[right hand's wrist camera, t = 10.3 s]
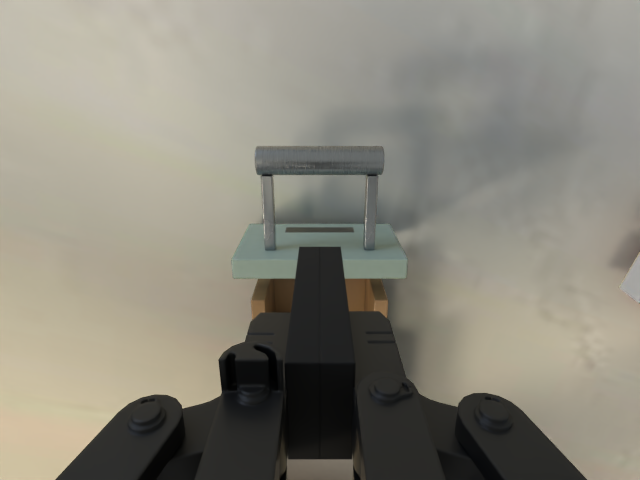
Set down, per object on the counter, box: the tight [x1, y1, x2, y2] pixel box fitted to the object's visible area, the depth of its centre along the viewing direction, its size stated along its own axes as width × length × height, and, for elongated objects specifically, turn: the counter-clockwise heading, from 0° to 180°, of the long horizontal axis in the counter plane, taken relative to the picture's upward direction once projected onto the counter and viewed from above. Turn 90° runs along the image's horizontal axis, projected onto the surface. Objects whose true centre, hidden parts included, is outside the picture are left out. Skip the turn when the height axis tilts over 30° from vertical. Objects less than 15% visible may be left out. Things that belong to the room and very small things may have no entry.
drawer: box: [231, 146, 408, 320], centre depth 26 cm, size 19×10×6 cm, turn 0°
